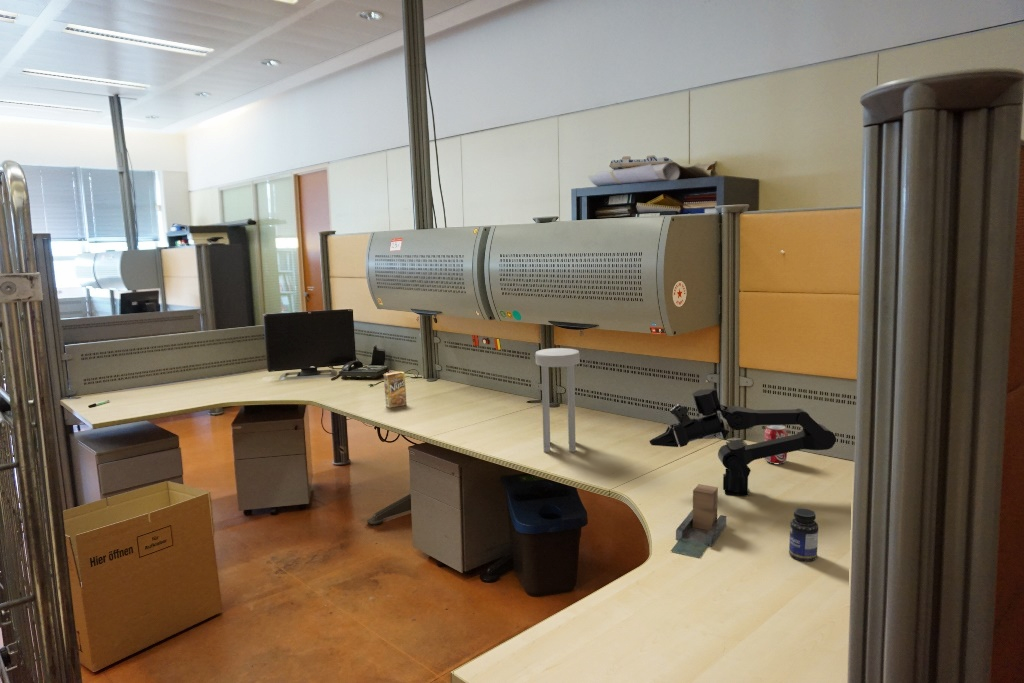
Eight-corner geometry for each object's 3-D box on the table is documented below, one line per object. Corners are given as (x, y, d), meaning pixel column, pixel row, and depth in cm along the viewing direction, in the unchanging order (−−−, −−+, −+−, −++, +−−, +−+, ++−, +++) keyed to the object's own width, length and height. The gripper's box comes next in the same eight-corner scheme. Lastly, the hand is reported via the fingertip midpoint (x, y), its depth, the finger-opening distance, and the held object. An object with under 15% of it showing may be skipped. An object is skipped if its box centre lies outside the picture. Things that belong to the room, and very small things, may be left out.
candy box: (389, 408, 310) (387, 375, 308) (385, 406, 314) (383, 373, 311) (407, 404, 315) (405, 372, 313) (402, 403, 319) (400, 370, 316)
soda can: (790, 461, 226) (791, 425, 224) (781, 467, 221) (782, 431, 219) (769, 456, 231) (770, 422, 229) (760, 462, 226) (761, 427, 224)
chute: (692, 518, 185) (692, 509, 185) (726, 525, 180) (726, 516, 180) (666, 550, 167) (666, 541, 167) (703, 558, 163) (703, 549, 162)
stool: (537, 453, 242) (534, 356, 236) (538, 440, 257) (536, 348, 251) (581, 453, 241) (580, 355, 235) (580, 439, 256) (578, 347, 250)
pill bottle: (783, 552, 165) (785, 508, 163) (805, 548, 166) (807, 505, 164) (799, 564, 159) (801, 519, 157) (822, 560, 160) (824, 515, 159)
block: (698, 519, 183) (698, 484, 181) (717, 523, 180) (717, 487, 178) (692, 527, 178) (693, 490, 177) (711, 530, 176) (712, 493, 174)
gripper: (690, 401, 210) (641, 416, 212) (696, 400, 192) (642, 416, 194) (702, 436, 209) (652, 451, 211) (709, 438, 190) (654, 454, 192)
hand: (650, 442), depth 202 cm, fingers open, 9 cm apart
